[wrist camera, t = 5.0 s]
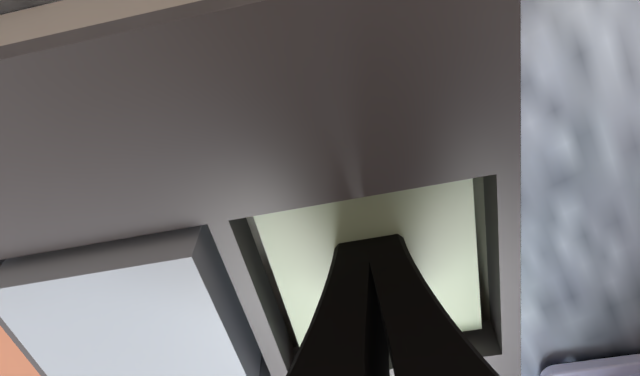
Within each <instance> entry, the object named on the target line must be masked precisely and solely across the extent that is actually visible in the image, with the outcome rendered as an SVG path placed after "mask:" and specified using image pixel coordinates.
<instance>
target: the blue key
mask: <svg viewBox="0 0 640 376" xmlns="http://www.w3.org/2000/svg"><path fill="white" fill-rule="evenodd" d="M0 317H1V318H2V320H3V321H4V322H5V323H6V325H7V326H8V327H9V328H10V330H11V331H12V332H13V333H14V335H15V336H16V337H17V338H18V340H19V341H20V342H21V343H22V345H23V346H24V347H25V348H26V350H27V351H28V352H29V353H30V355H31V356H32V357H33V358H34V360H35V361H36V362H37V363H38V365H39V366H40V367H41V368H42V370H43V371H44V372H45V374H46V375H47V376H259V373H260V364H261V356H262V353H261V350H260V348H259V346H258V343H257V341H256V339H255V336H254V334H253V331H252V329H251V327H250V324H249V322H248V320H247V317H246V315H245V312H244V310H243V308H242V305H241V303H240V301H239V298H238V296H237V293H236V291H235V289H234V286H233V284H232V282H231V279H230V277H229V274H228V272H227V270H226V267H225V265H224V263H223V260H222V258H221V255H220V253H219V251H218V248H217V246H216V244H215V241H214V239H213V236H212V234H211V232H210V229H209V227H208V224H205V225H199V226H193V227H188V228H182V229H176V230H170V231H165V232H159V233H153V234H147V235H141V236H136V237H130V238H124V239H118V240H112V241H107V242H101V243H95V244H89V245H83V246H78V247H72V248H66V249H60V250H54V251H49V252H43V253H37V254H31V255H26V256H20V257H14V258H8V259H5V261H4V262H3V263H2V265H1V266H0Z"/></svg>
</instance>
